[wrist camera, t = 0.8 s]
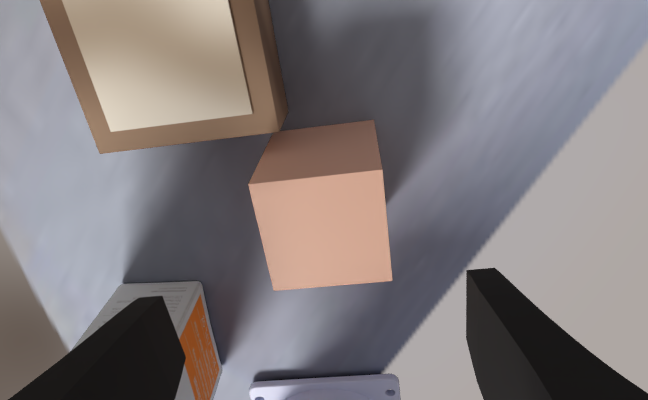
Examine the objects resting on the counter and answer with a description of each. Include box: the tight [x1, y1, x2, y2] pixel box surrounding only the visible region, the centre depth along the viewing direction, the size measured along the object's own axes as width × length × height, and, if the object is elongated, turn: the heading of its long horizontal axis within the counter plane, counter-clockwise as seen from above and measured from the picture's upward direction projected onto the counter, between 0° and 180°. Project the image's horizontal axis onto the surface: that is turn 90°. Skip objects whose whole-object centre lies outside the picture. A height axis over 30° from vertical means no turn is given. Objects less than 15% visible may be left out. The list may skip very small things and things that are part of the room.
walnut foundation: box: [40, 0, 288, 154], centre depth 15 cm, size 6×6×3 cm
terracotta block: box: [248, 120, 392, 291], centre depth 16 cm, size 4×4×5 cm
